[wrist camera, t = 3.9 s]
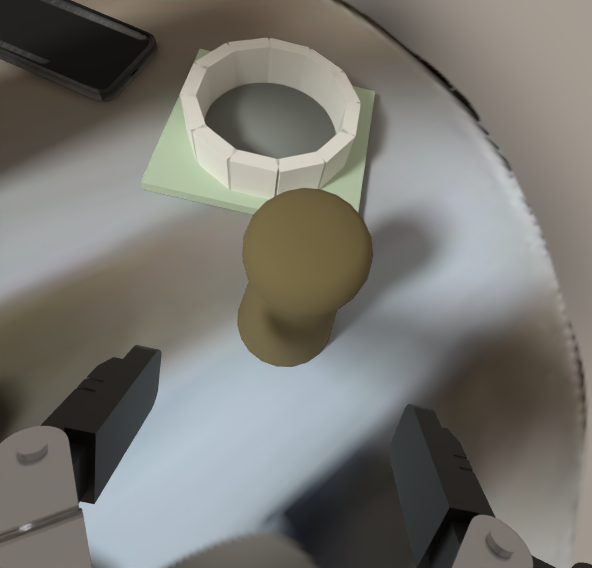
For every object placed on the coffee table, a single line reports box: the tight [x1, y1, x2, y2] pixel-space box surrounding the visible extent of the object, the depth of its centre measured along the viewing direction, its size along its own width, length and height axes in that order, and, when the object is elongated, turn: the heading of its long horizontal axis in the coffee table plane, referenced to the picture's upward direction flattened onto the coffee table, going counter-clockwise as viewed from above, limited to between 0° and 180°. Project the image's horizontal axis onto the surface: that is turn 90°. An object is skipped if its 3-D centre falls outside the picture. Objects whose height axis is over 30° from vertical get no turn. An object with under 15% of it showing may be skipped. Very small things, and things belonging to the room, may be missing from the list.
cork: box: [237, 188, 373, 367], centre depth 18 cm, size 6×6×11 cm
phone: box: [0, 0, 158, 101], centre depth 30 cm, size 8×1×15 cm
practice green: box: [141, 38, 375, 215], centre depth 27 cm, size 15×14×4 cm
